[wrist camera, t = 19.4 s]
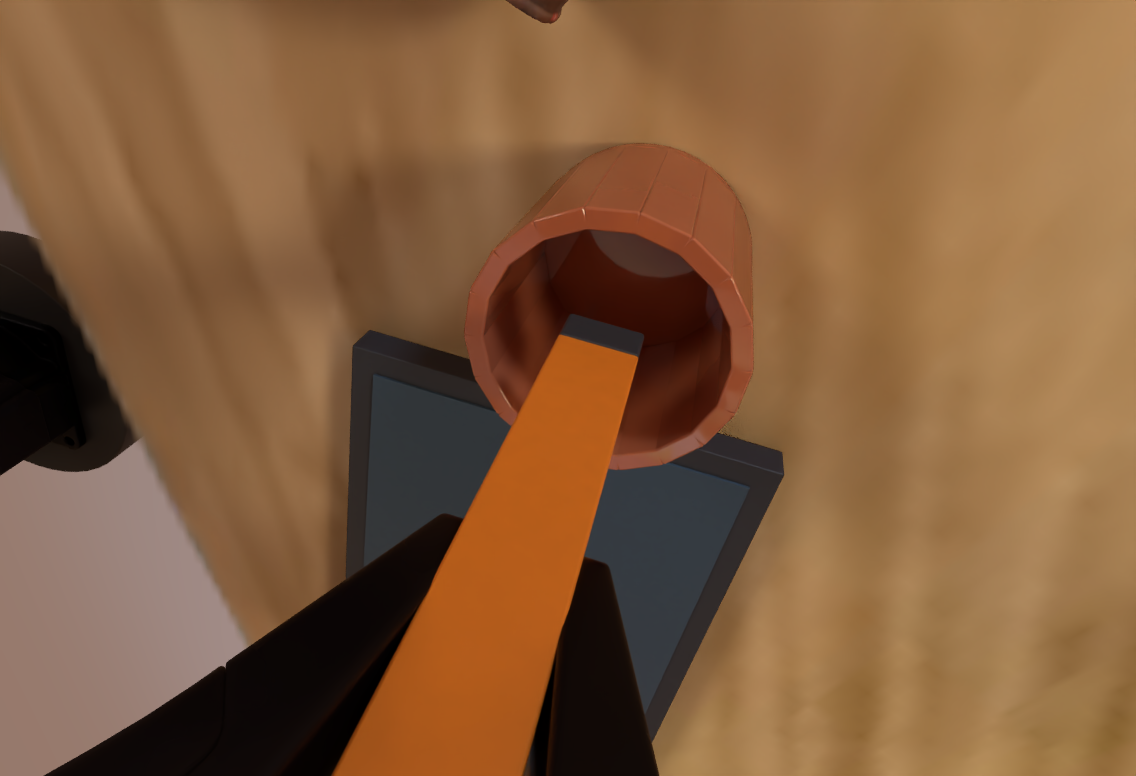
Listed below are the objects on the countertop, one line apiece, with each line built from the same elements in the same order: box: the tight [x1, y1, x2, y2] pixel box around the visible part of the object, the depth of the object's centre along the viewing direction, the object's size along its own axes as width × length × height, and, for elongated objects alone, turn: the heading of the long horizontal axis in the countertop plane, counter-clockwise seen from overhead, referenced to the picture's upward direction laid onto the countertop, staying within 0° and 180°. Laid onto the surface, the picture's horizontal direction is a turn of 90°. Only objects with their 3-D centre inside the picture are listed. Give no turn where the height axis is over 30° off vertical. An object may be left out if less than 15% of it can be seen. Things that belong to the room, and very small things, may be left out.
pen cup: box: [464, 143, 754, 470], centre depth 17 cm, size 6×6×6 cm
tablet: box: [346, 330, 784, 743], centre depth 28 cm, size 14×22×1 cm, turn 168°
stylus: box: [331, 314, 644, 776], centre depth 10 cm, size 2×2×11 cm
